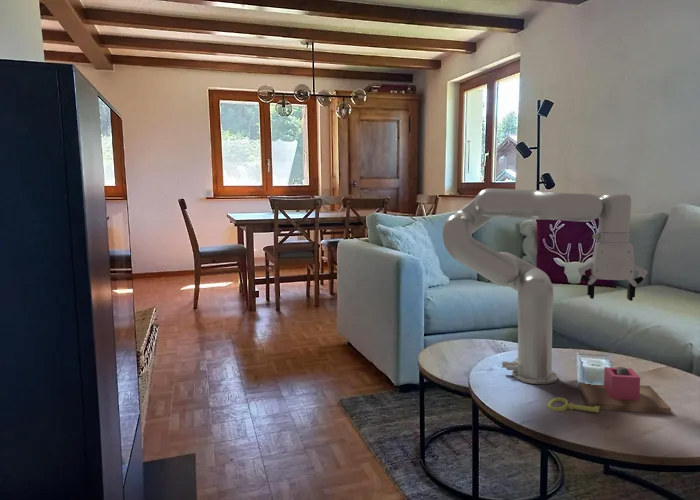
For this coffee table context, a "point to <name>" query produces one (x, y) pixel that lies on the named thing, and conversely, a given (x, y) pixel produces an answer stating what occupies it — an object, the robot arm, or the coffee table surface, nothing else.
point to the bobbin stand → (646, 402)
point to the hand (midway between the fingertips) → (610, 298)
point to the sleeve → (621, 384)
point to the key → (571, 406)
